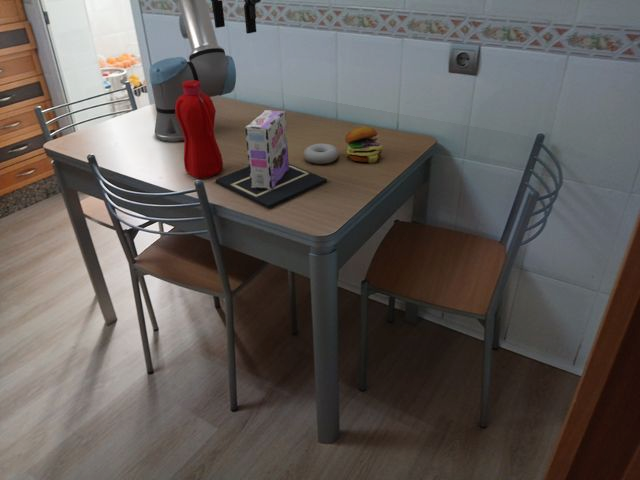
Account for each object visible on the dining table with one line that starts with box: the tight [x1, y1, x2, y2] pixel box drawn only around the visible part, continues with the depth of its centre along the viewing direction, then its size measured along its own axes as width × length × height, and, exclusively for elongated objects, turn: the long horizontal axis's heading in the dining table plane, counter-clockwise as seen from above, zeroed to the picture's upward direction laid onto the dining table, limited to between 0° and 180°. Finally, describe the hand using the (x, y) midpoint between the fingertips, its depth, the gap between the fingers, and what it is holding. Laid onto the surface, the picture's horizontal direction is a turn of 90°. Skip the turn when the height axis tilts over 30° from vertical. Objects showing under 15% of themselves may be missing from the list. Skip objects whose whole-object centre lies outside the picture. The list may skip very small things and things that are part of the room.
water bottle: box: [175, 80, 224, 180], centre depth 138 cm, size 9×11×25 cm
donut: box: [303, 143, 340, 165], centre depth 150 cm, size 10×3×10 cm
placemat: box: [215, 163, 328, 210], centre depth 138 cm, size 22×20×1 cm
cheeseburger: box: [344, 126, 383, 164], centre depth 149 cm, size 10×11×10 cm
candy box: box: [244, 109, 290, 190], centre depth 133 cm, size 14×6×16 cm, turn 164°
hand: (235, 29), depth 138 cm, fingers open, 13 cm apart
